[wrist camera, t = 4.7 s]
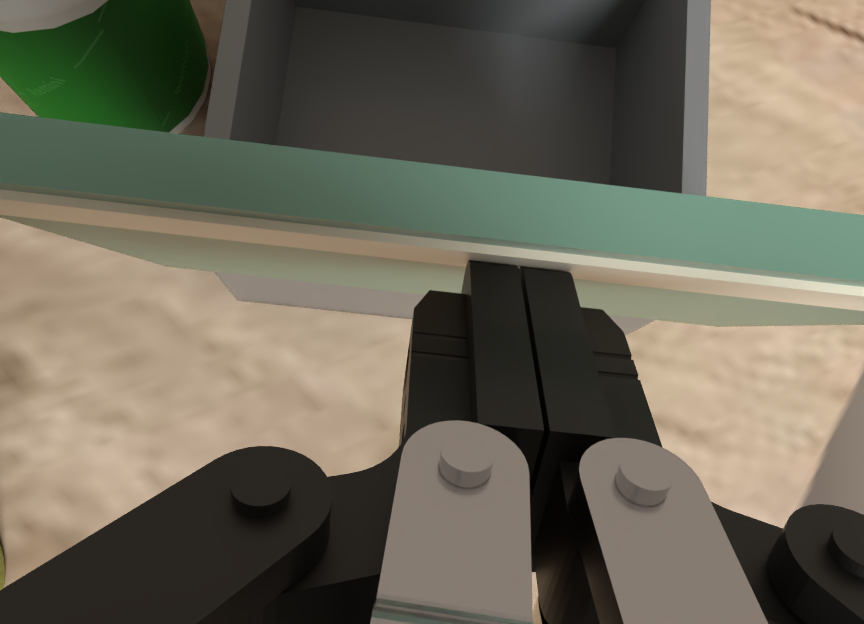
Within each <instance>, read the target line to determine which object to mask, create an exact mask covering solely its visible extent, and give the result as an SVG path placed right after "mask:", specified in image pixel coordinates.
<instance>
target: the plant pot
mask: <svg viewBox="0 0 864 624" xmlns="http://www.w3.org/2000/svg"><path fill="white" fill-rule="evenodd" d="M4 579H5V564H4V557H3V552H2V549H1V546H0V590H2V589H3V586H4Z"/></svg>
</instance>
